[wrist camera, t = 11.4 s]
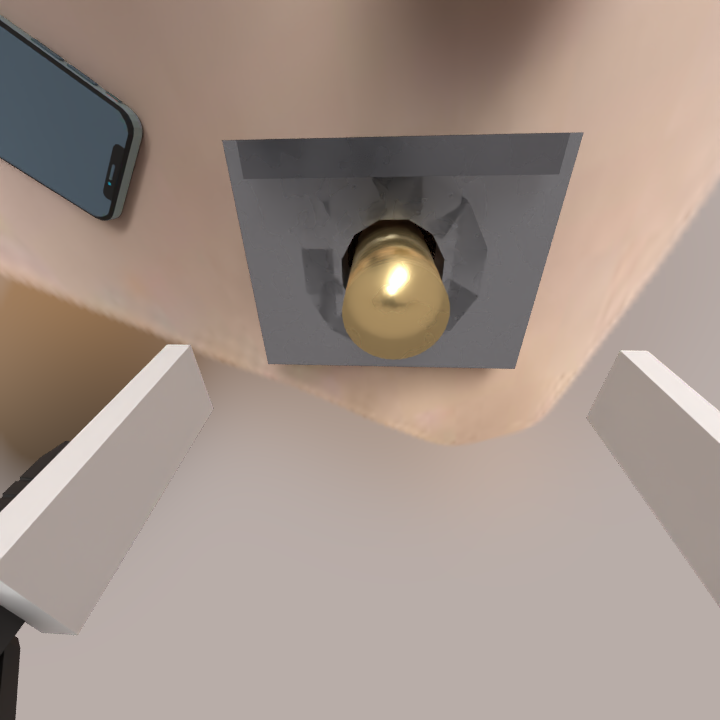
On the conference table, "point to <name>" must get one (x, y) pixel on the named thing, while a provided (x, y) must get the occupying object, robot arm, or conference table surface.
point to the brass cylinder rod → (394, 292)
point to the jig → (397, 202)
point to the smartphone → (64, 126)
